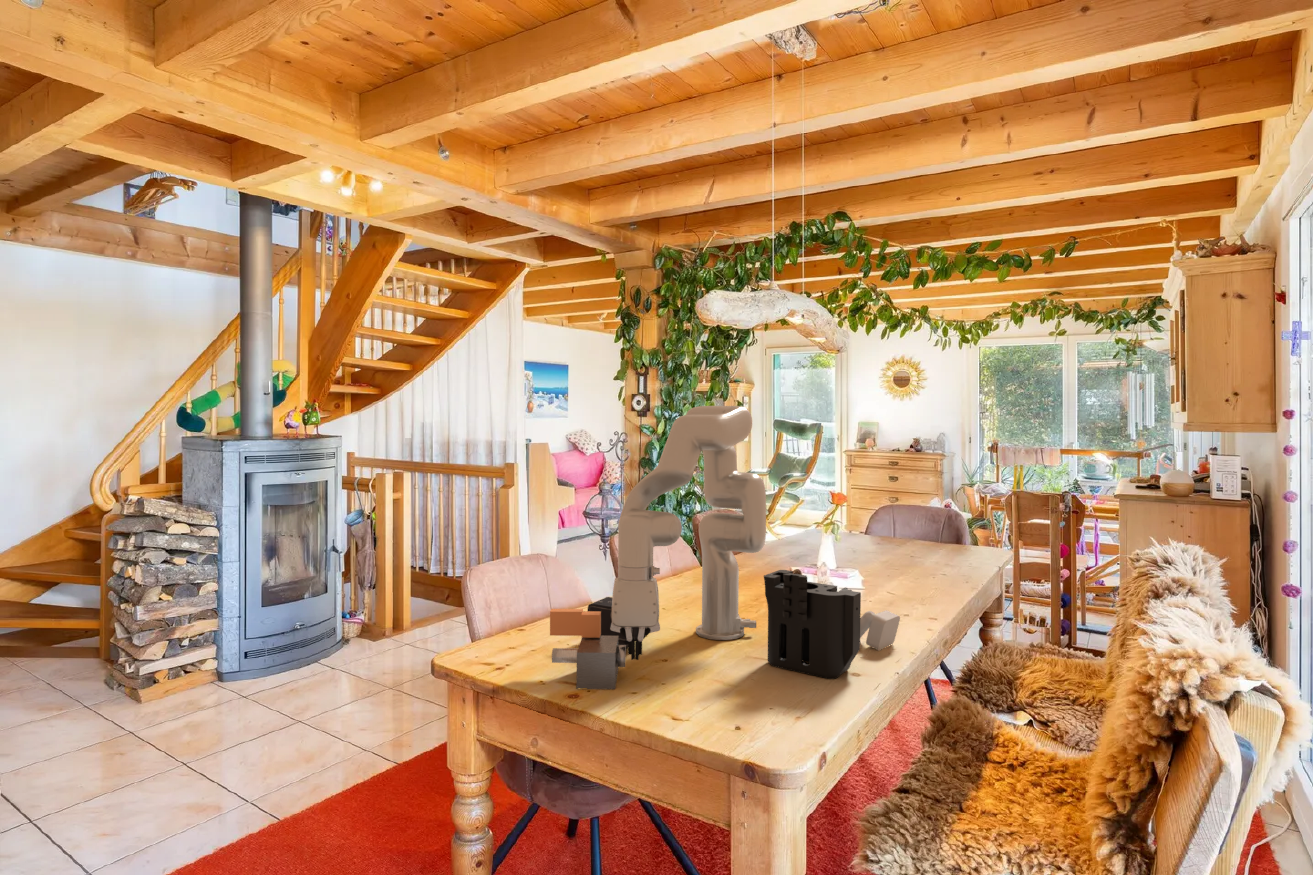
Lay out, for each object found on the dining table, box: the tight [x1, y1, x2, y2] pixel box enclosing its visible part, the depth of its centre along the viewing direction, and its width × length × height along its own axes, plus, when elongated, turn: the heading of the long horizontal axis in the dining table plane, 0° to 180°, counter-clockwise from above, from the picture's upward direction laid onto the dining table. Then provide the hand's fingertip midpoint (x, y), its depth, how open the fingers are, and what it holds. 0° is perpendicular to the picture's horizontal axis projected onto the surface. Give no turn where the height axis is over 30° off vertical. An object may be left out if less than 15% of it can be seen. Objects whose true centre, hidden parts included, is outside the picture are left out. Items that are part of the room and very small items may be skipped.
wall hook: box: [860, 609, 901, 651], centre depth 184 cm, size 8×10×10 cm
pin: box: [551, 645, 627, 668], centre depth 158 cm, size 16×5×5 cm, turn 90°
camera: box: [587, 596, 639, 649], centre depth 182 cm, size 11×11×15 cm
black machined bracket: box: [763, 569, 862, 680], centre depth 164 cm, size 12×21×22 cm, turn 54°
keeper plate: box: [549, 608, 601, 638], centre depth 163 cm, size 11×3×6 cm, turn 90°
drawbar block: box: [576, 636, 619, 690], centre depth 158 cm, size 8×12×8 cm, turn 0°
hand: (635, 657), depth 158 cm, fingers closed
